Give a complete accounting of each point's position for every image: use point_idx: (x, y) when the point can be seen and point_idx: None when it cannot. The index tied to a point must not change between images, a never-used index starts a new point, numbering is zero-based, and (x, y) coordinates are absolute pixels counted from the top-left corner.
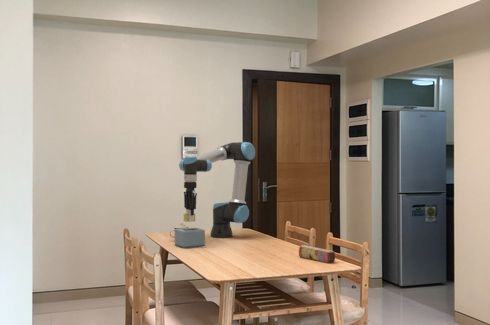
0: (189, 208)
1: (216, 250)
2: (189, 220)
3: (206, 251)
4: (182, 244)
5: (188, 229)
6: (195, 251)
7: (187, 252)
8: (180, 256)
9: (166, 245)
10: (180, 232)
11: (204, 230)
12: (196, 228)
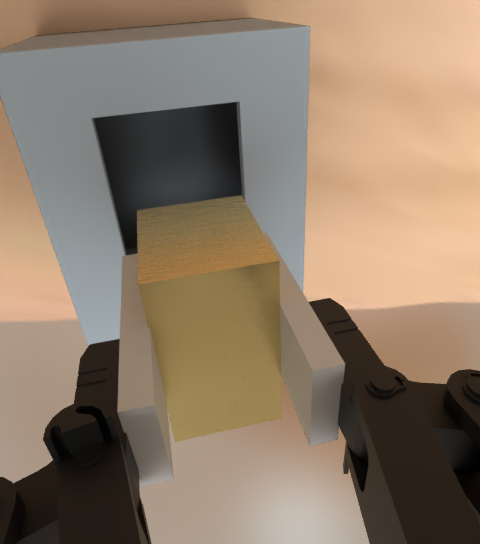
0: (120, 446)
1: (477, 3)
2: None
3: (455, 108)
4: None
5: (113, 208)
6: (404, 185)
7: (401, 242)
8: (471, 302)
9: (71, 308)
10: None
11: (306, 32)
12: (102, 87)
